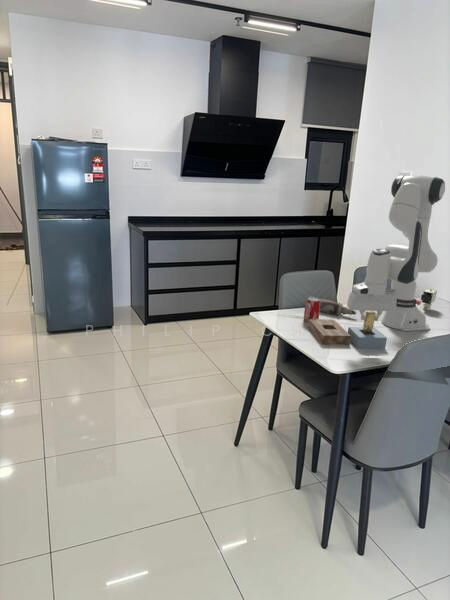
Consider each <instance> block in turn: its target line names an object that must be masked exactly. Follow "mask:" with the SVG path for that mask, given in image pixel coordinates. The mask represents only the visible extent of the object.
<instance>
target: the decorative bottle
mask: <svg viewBox="0 0 450 600" xmlns="http://www.w3.org/2000/svg"><path fill="white" fill-rule="evenodd" d="M309 297H314V298H318V299H320V312H322V313H327V314H332V315H334V316H342V315H350V316H352V315H357V312H356V310H350V309H349V308H348V306H347V307H346V306H344V305H343V303H341V302H337V301H332V300H328V299H324V298H319V297H315V296H311V295H310V296H309Z"/></svg>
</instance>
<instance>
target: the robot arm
mask: <svg viewBox="0 0 450 600" xmlns="http://www.w3.org/2000/svg"><path fill="white" fill-rule="evenodd" d="M390 187H391V190H390V192H391V193H390V194H391V195H392V197H393V200H392V203H391V206H390V208H389V209H390V210H389V212H388V213H389V214H388V219H389V222H390V224H391V225H392V226H393V227H394V228H395V229H397V230H398V231H400V232H402V235H403V236H404V237H405V238H406V239H408V242H409V243H408V245H404V244H400V243H399V244H396V243H394V244H392V243H391V244H387V246H385V248H375V249H373V250H371V252H370V253H369V258H368V261H367V265H366V276H365V278H364V281H363V282H360V283H356V284H353V285H352V286H351V290H352V291H351V292H350V293H349V295H348V298H347V304H346V306H347V308H348V309H350V310H353V311H359V314H360V320H361V321H364V320H366V316H365V313H366V311H372V312H376V314H375V320H374V322H375V321H376V322H378V321H379V318H380V316H381V315H382V314H383V312H384V315H383V317H382V320H381V324H382V325H384V326H386V327H389V328H393V329H396V330H400V331H402V332H403V331H405V332H414V331H416V332H417V331H428V330H431V329H430V328H431V327H430V325H429V324H428V323H427V316H426V315H425V313H424V312H423V311H422V310H420V308H418V306H420V305H421V304H422V300H420V299H415V295H416V288H417V281H416V280H417V278H418V275H419V273H431V272H432V271H434V270H435V269H436V267H437V265H438V262H439V261H438V256H437V253H435V251H434V250H433V249H432V247H431V245H430V243H429V237H428V235H429V227H430V221H431V216H432V211H433V210H432V209H433V205H435V203H439V201H440V200H442V198H443V196H444V195H445V192H446V182H445V181H444V180H443V178H440V177H437V176H435V177H433V176H427V175H399V176H397V177H396V178H394V179H393V181H392V185H391V186H390ZM388 280H390V281H391V284H390V285H391V286H390V288H387V286H388Z"/></svg>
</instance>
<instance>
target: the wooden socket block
mask: <svg viewBox="0 0 450 600" xmlns="http://www.w3.org/2000/svg"><path fill="white" fill-rule="evenodd" d="M307 325H308V327H307V328H308V329H309V331H311V333H312V334H313V335H314V337H315V338H316V339H317V341H318V342H320V344H321V345H331V346H332V345H335V346H337V345H339V346H340V345H341V346H345V345H346V346H348V345H349V346H350V343H351V341H350V338H351V336H350V335H349V334H348V331H347V330H345V328H344V327H343V326H342V325H340V323H338V322H337V321H336V320H335V319H326V318H325V319H323V318H322V319H321V318H320V319H309V323H308V324H307Z"/></svg>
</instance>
